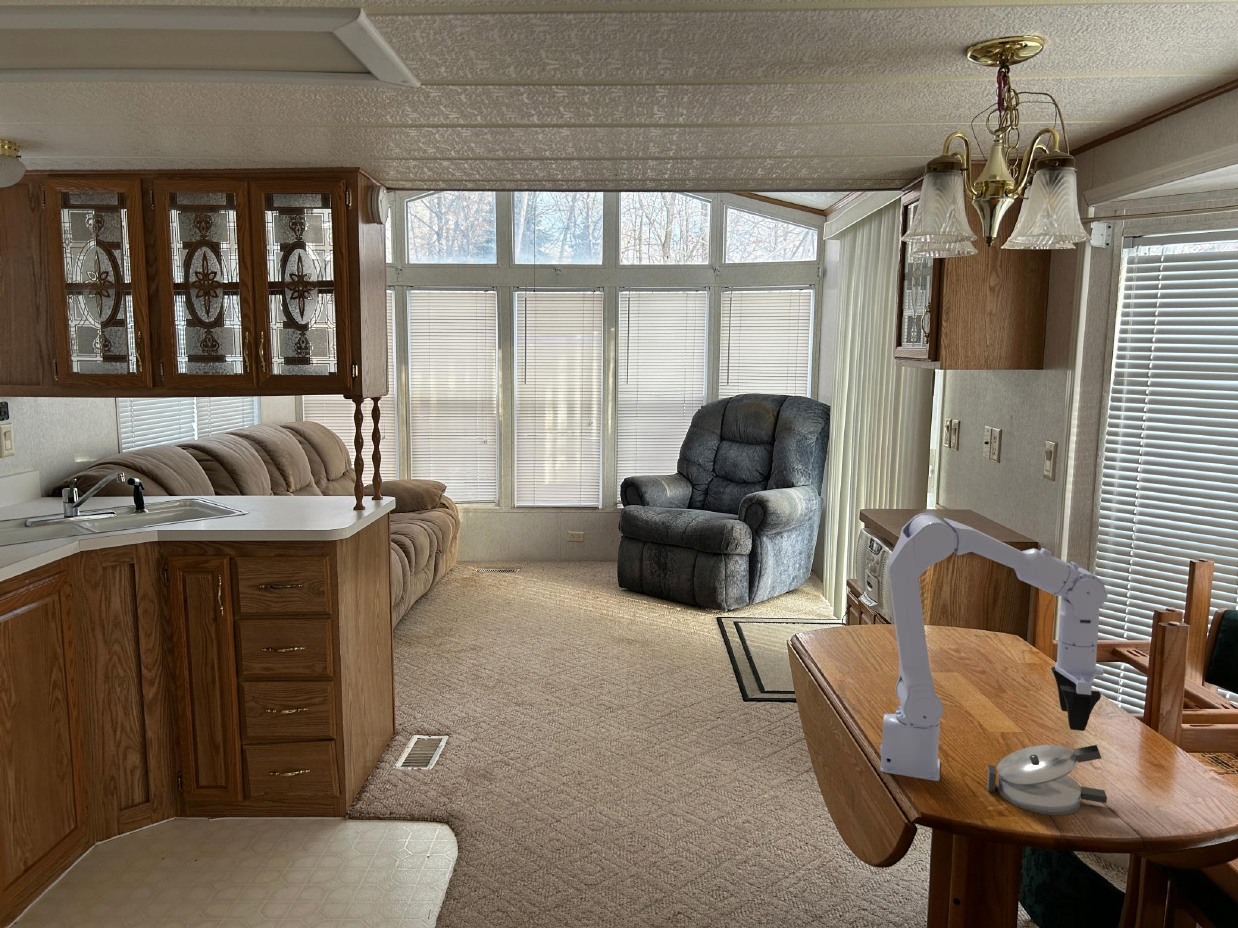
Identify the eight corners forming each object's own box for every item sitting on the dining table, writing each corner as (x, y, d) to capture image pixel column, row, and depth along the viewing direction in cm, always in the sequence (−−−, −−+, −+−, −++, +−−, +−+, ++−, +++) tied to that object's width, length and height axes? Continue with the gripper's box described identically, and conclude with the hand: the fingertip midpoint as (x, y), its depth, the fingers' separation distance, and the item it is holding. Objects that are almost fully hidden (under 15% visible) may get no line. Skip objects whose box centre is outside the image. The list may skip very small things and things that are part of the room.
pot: (989, 804, 136) (990, 785, 135) (986, 770, 147) (987, 753, 146) (1111, 825, 130) (1112, 805, 129) (1098, 788, 141) (1099, 770, 140)
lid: (1000, 790, 135) (996, 780, 135) (996, 757, 146) (993, 747, 146) (1107, 772, 129) (1102, 760, 129) (1094, 739, 140) (1090, 728, 140)
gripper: (1115, 658, 133) (1109, 741, 135) (1095, 630, 147) (1090, 706, 149) (1065, 653, 135) (1060, 735, 137) (1049, 626, 149) (1045, 701, 151)
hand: (1072, 719), depth 143 cm, fingers open, 7 cm apart
